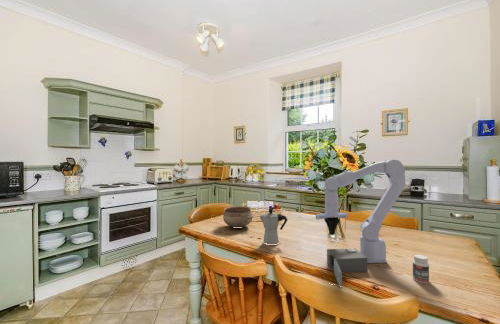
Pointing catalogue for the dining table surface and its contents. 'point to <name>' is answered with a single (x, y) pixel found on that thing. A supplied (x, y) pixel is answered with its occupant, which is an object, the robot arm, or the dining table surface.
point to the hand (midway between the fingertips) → (331, 234)
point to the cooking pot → (237, 216)
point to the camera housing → (347, 260)
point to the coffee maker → (272, 226)
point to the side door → (337, 272)
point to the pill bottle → (420, 269)
